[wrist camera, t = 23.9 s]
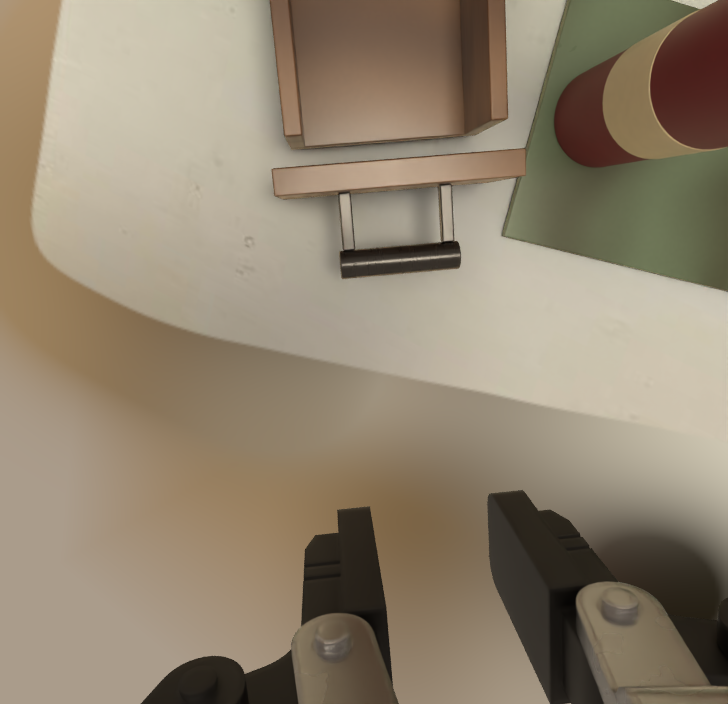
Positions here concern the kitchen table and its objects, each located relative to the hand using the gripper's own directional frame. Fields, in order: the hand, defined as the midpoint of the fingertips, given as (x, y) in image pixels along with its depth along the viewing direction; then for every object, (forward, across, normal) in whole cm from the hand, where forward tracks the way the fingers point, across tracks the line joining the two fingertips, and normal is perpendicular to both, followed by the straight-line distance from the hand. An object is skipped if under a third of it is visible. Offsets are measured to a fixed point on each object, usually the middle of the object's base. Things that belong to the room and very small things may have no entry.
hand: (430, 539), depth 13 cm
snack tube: (+23, -14, -11) cm, 29 cm away
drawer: (+22, -2, -12) cm, 25 cm away
